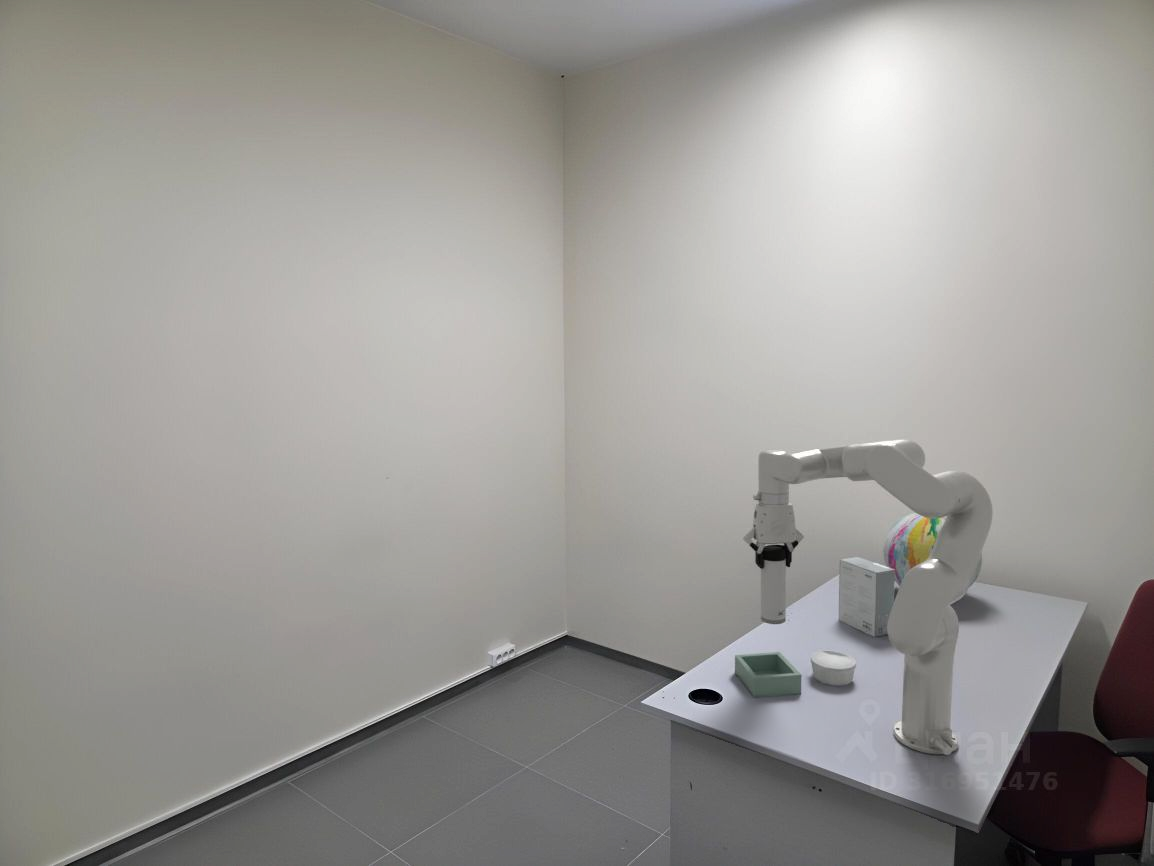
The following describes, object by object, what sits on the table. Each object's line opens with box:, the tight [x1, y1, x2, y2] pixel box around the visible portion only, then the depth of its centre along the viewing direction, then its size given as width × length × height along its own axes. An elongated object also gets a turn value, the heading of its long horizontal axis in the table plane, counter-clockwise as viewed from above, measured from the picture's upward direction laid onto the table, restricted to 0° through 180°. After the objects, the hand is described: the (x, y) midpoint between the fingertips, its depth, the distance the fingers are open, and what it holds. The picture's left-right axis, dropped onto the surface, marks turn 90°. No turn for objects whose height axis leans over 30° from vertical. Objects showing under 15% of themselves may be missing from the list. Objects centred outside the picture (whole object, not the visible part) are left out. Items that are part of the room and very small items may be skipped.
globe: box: [882, 512, 983, 588], centre depth 236 cm, size 30×30×30 cm
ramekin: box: [810, 650, 857, 687], centre depth 181 cm, size 11×11×5 cm
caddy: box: [734, 651, 802, 699], centre depth 179 cm, size 13×12×5 cm
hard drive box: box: [838, 556, 896, 638], centre depth 212 cm, size 16×8×20 cm, turn 22°
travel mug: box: [760, 544, 787, 625], centre depth 180 cm, size 6×7×20 cm
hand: (773, 565), depth 179 cm, fingers closed on travel mug, 6 cm apart
